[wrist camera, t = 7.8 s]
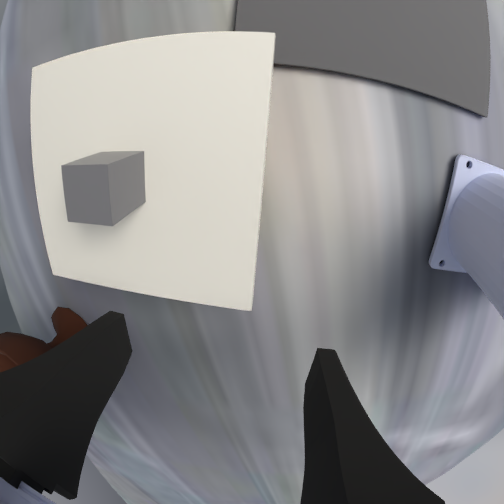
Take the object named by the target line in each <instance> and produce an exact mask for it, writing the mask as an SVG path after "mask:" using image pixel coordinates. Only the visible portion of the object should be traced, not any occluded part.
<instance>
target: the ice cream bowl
mask: <svg viewBox="0 0 504 504" xmlns="http://www.w3.org/2000/svg"><path fill="white" fill-rule="evenodd" d="M51 318H52V322H53V326H54V329H55V331H56V333H57V335H56V337H55V338H54V339H53V341H52V342H50V343H48V344H46V343H45V342H44V341H42V340H40V339H37V338H34V337H31V336H27V335H24V334H19V333H11V332H5V333H2V334H0V372H3V371H6V370H8V369H11V368H13V367H16V366H18V365H21V364H23V363H26V362H28V361H30V360H32V359H34V358H36V357H38V356H40V355H42V354H44V353H45V352H47V351H49V350H50V349H52V348H54V347H55V346H57V345H59V344H60V343H62V342H64V341H65V340H67V339H68V338H70V337H71V336H73V335H74V334H76V333H77V332H79V331H81V330H82V329H84V328H85V327H86V326H88V325H87V324H86V323H85V321H84V320H83V318H81V317H80V316H79V315H77V314H76V313H74V312H73V311H72V310H70V309H69V308H62V307H57V309H56V310H55V311H54V313H53V315H52V317H51Z"/></svg>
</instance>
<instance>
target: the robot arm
mask: <svg viewBox="0 0 504 504" xmlns="http://www.w3.org/2000/svg"><path fill="white" fill-rule="evenodd" d="M468 161H469V166H468V167H467V166H466V164H467V162H468ZM441 260H443V262H442V263H441V264H439V263H440V261H441ZM429 265H430V266H431V267H432V268H433V269H440V270H448V271H455V272H463V273H468V274H469V275H470V276H471V277H472V279H473V280H474V281H475V282H476V284H477V285H478V286H479V287H480V288H481V290H482V291H483V292H484V294H485V295H486V296H487V297H488V299H489V300H490V301H491V303H492V304H493V305H494V307H495V308H496V309H497V311H498V312H499V313H500V315H501V316H502V317H503V319H504V170H503V169H500V168H498V167H495V166H493V165H490V164H488V163H485V162H482V161H480V160H477V159H474V158H472V157H469V156H466V155H463V154H459V155H458V156H457V157H456V159H455V164H454V169H453V174H452V179H451V183H450V188H449V192H448V196H447V200H446V204H445V208H444V212H443V216H442V219H441V223H440V226H439V230H438V233H437V236H436V240H435V243H434V246H433V249H432V252H431V255H430V258H429ZM131 353H132V348H131V344H130V340H129V336H128V331H127V327H126V322H125V318H124V314H121V313H117V312H113V311H109V312H108V313H106V314H105V315H103V316H101V317H100V318H98V319H97V320H95V321H94V322H92V323H91V324H89V325H88V326H86V327H85V328H84V329H82V330H81V331H79V332H77V333H76V334H74V335H73V336H71V337H70V338H68V339H67V340H65V341H64V342H62V343H60V344H59V345H57V346H55V347H54V348H52V349H50V350H49V351H47V352H45V353H44V354H42V355H40V356H38V357H36V358H34V359H32V360H30V361H28V362H26V363H23V364H21V365H18V366H16V367H13V368H11V369H8V370H6V371H3V372H0V504H56V503H55V502H53V501H51V500H50V499H48V498H46V497H45V496H43V495H42V492H43V490H45V491H46V492H48V493H49V494H52V492H53V491H55V492H57V493H58V494H60V495H62V496H64V497H66V498H67V499H69V500H70V499H75V498H76V497H77V492H78V486H79V480H80V475H81V471H82V467H83V463H84V459H85V455H86V452H87V449H88V446H89V443H90V440H91V437H92V434H93V432H94V429H95V426H96V424H97V421H98V419H99V417H100V415H101V413H102V411H103V409H104V408H105V406H106V404H107V402H108V400H109V398H110V397H111V395H112V393H113V391H114V390H115V388H116V386H117V384H118V382H119V381H120V379H121V377H122V375H123V373H124V371H125V369H126V366H127V364H128V361H129V359H130V356H131ZM303 409H304V439H305V471H304V480H303V489H302V497H301V504H445V501H444V500H442V499H441V498H440V497H439V496H437V495H436V494H434V492H432V491H431V490H430V489H429V488H427V487H426V486H425V485H424V484H423V483H422V482H421V481H420V480H419V479H418V478H417V477H415V476H414V475H413V474H412V473H411V471H410V470H409V469H408V468H407V467H406V466H405V465H404V464H403V463H402V462H401V460H400V459H399V458H398V457H397V456H396V455H395V454H394V452H393V451H392V450H391V449H390V447H389V446H388V445H387V443H386V442H385V441H384V439H383V438H382V436H381V435H380V434H379V432H378V431H377V429H376V428H375V426H374V425H373V423H372V422H371V420H370V418H369V417H368V415H367V413H366V412H365V410H364V408H363V406H362V405H361V403H360V401H359V399H358V397H357V395H356V393H355V392H354V390H353V388H352V386H351V384H350V382H349V380H348V377H347V375H346V373H345V371H344V369H343V367H342V364H341V362H340V360H339V358H338V355H337V353H336V351H335V350H332V349H322V348H317V351H316V354H315V357H314V360H313V363H312V366H311V369H310V372H309V375H308V377H307V380H306V383H305V394H304V407H303Z"/></svg>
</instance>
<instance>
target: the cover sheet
mask: <svg viewBox="0 0 504 504" xmlns="http://www.w3.org/2000/svg"><path fill="white" fill-rule="evenodd" d="M275 39H276V35H275V33H270V32H245V31H222V32H197V33H183V34H173V35H164V36H156V37H149V38H142V39H136V40H130V41H125V42H120V43H115V44H110V45H106V46H101V47H97V48H93V49H89V50H86V51H82V52H78V53H75V54H71V55H68V56H65V57H62V58H59V59H55V60H53V61H50V62H47V63H44V64H41V65H38V66H36V67H33V68H32V82H31V143H32V158H33V169H34V179H35V187H36V194H37V201H38V207H39V213H40V219H41V224H42V230H43V234H44V239H45V244H46V248H47V252H48V256H49V261H50V264H51V268H52V272H53V275H57V276H61V277H65V278H70V279H74V280H78V281H83V282H87V283H92V284H97V285H101V286H106V287H111V288H116V289H121V290H126V291H131V292H136V293H141V294H147V295H152V296H157V297H163V298H169V299H175V300H180V301H186V302H193V303H199V304H205V305H212V306H218V307H225V308H232V309H239V310H247V311H251V309H252V304H253V294H254V283H255V272H256V261H257V250H258V239H259V228H260V216H261V205H262V194H263V182H264V171H265V159H266V148H267V136H268V124H269V112H270V100H271V88H272V76H273V64H274V51H275Z"/></svg>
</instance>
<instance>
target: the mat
mask: <svg viewBox="0 0 504 504" xmlns="http://www.w3.org/2000/svg"><path fill="white" fill-rule="evenodd" d="M235 31H245V32H270V33H275V35H276V39H275V51H274V64H273V65H285V66H295V67H303V68H311V69H318V70H325V71H331V72H337V73H342V74H348V75H353V76H358V77H362V78H367V79H371V80H376V81H380V82H384V83H388V84H392V85H395V86H399V87H403V88H406V89H409V90H413V91H416V92H419V93H422V94H425V95H428V96H431V97H434V98H437V99H440V100H443V101H446V102H448V103H451V104H454V105H456V106H459V107H461V108H464V109H466V110H469V111H471V112H473V113H476V114H478V115H480V116H482V117H487V116H488V105H489V91H490V36H489V22H488V12H487V4H486V0H238V5H237V14H236V25H235Z"/></svg>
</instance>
